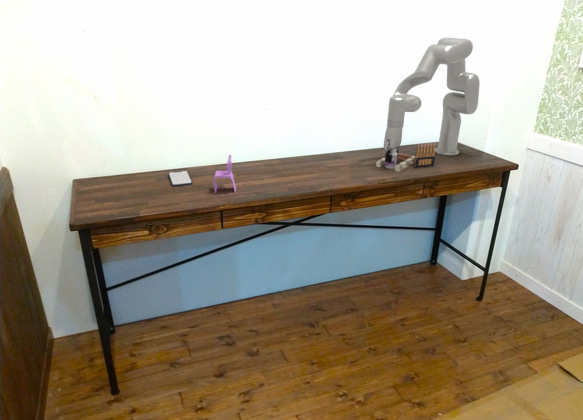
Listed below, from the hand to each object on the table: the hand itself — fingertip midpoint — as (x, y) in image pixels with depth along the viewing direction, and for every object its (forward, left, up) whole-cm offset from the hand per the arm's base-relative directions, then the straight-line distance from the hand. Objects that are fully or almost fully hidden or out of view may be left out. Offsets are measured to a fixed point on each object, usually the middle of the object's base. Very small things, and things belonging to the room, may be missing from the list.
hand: (391, 160), depth 220 cm
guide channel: (-7, 0, -4) cm, 7 cm away
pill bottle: (0, 0, -4) cm, 4 cm away
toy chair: (+72, -40, -4) cm, 83 cm away
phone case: (+77, -64, -4) cm, 100 cm away
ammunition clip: (-12, +12, -4) cm, 17 cm away
